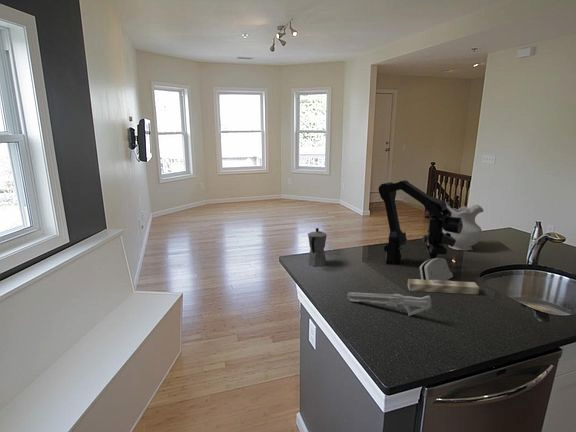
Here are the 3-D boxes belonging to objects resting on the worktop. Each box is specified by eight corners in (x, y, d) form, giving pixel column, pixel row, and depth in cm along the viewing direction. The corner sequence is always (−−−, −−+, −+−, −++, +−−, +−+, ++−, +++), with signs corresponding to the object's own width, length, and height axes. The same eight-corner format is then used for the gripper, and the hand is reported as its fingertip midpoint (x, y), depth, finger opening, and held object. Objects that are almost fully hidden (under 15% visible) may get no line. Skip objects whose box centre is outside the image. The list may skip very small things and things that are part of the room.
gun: (431, 318, 119) (429, 297, 118) (349, 311, 136) (346, 292, 134) (432, 316, 121) (430, 294, 120) (350, 309, 137) (348, 290, 136)
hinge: (432, 286, 146) (426, 263, 146) (422, 286, 150) (416, 263, 150) (453, 276, 155) (448, 254, 156) (443, 276, 159) (438, 255, 160)
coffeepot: (311, 257, 181) (311, 224, 177) (329, 259, 178) (329, 225, 174) (302, 268, 167) (302, 232, 163) (321, 271, 164) (322, 234, 160)
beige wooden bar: (409, 290, 143) (410, 283, 142) (407, 285, 148) (408, 278, 147) (478, 294, 139) (479, 286, 138) (474, 289, 143) (474, 281, 143)
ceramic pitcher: (439, 253, 188) (444, 208, 180) (433, 239, 206) (437, 198, 199) (483, 255, 184) (491, 210, 176) (473, 241, 202) (479, 199, 194)
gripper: (461, 236, 145) (457, 271, 149) (449, 224, 163) (445, 255, 167) (433, 235, 147) (429, 270, 150) (423, 223, 165) (421, 254, 168)
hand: (432, 262), depth 159 cm, fingers closed
